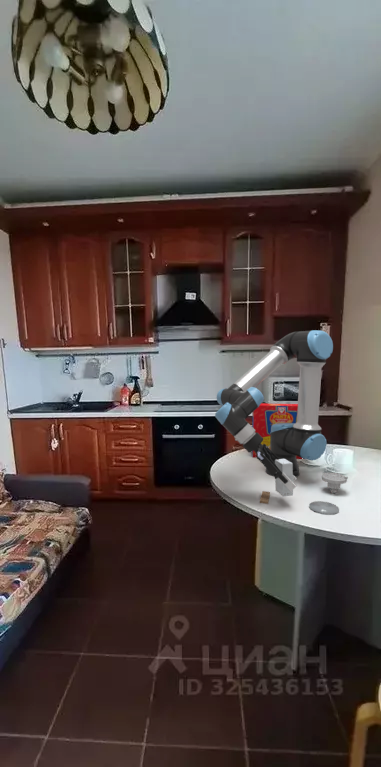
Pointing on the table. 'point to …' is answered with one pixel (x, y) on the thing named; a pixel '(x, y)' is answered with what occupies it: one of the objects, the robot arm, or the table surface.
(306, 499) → the table surface
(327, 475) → the showerhead
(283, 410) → the pasta box
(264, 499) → the walnut board
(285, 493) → the skincare box
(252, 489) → the table surface
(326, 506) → the coaster
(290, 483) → the robot arm
